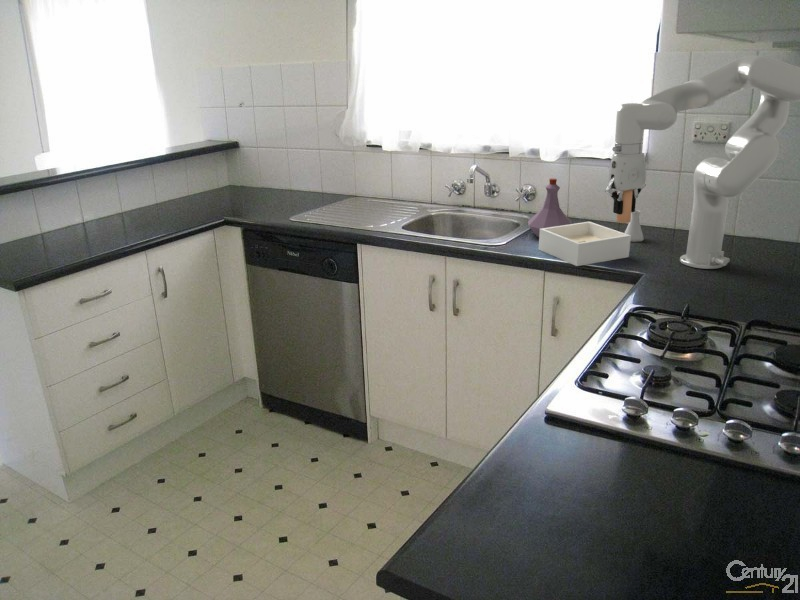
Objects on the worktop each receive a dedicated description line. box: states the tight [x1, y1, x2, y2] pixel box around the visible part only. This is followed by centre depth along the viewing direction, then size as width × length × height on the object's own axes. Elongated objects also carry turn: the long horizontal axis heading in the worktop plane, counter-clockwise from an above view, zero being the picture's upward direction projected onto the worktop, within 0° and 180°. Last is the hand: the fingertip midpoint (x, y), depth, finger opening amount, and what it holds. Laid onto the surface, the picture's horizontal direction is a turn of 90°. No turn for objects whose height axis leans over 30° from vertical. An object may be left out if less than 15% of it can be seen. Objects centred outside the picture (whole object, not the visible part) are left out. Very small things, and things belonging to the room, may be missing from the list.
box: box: [538, 221, 631, 267], centre depth 216 cm, size 20×20×7 cm
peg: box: [615, 190, 633, 224], centre depth 197 cm, size 4×4×10 cm
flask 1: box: [527, 178, 573, 238], centre depth 234 cm, size 16×16×20 cm
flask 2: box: [624, 209, 645, 243], centre depth 229 cm, size 7×7×10 cm
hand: (624, 211), depth 198 cm, fingers closed on peg, 4 cm apart
